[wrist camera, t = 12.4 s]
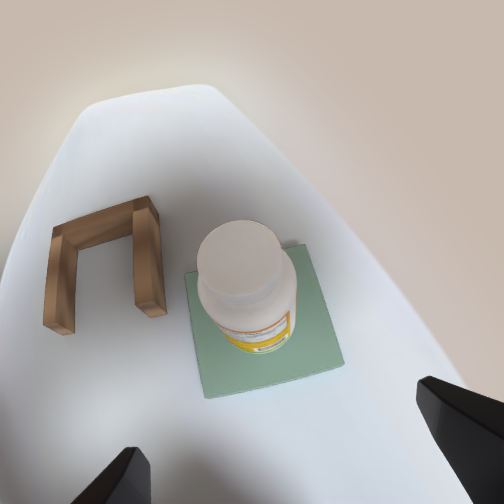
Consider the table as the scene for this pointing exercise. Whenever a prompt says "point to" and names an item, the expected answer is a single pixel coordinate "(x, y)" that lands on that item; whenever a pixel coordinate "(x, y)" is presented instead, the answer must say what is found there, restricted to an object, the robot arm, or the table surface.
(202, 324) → the green mat
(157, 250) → the frame
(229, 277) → the supplement bottle
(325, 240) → the table surface
